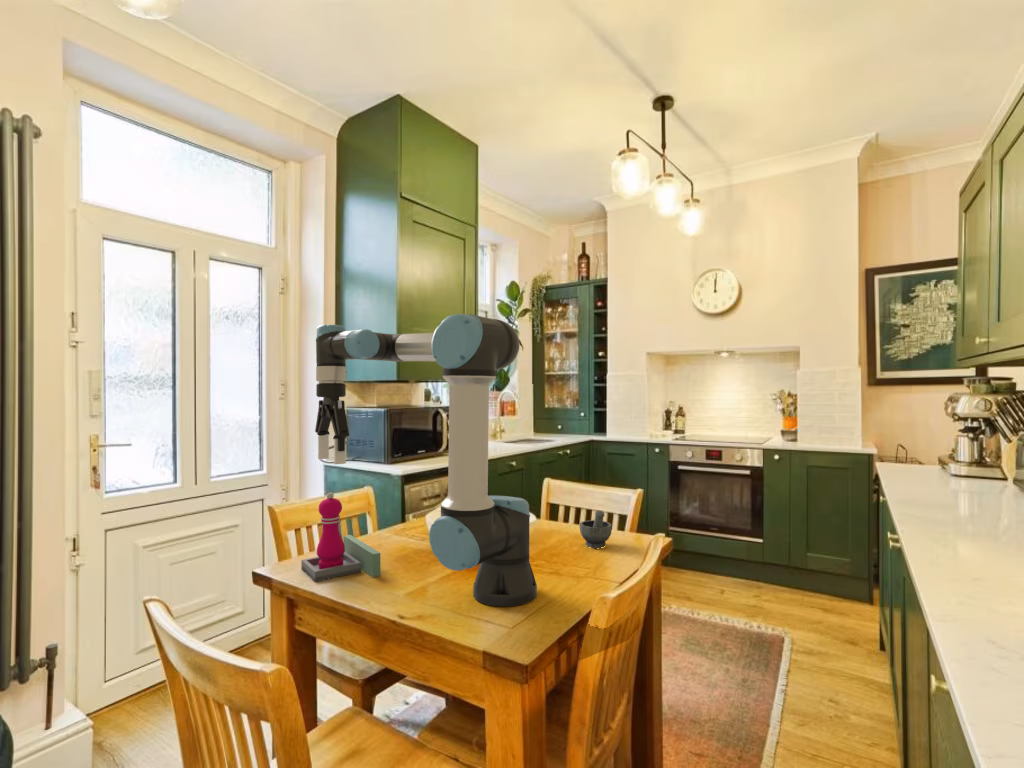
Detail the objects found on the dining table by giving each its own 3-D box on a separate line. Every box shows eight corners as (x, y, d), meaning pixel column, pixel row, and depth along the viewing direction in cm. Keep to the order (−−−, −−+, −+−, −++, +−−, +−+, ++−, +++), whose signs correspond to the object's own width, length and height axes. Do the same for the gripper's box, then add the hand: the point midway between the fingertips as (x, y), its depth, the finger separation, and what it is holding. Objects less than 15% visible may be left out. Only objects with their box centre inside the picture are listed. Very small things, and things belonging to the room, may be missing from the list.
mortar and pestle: (577, 542, 170) (577, 504, 170) (606, 541, 171) (605, 503, 171) (585, 553, 159) (585, 512, 159) (616, 551, 160) (616, 511, 160)
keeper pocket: (360, 572, 143) (360, 562, 143) (314, 581, 136) (314, 571, 136) (345, 560, 152) (345, 551, 152) (301, 569, 145) (301, 559, 145)
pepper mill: (349, 562, 147) (348, 489, 147) (338, 571, 140) (337, 495, 140) (324, 561, 148) (323, 489, 148) (312, 571, 141) (310, 495, 141)
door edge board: (380, 575, 140) (380, 552, 140) (373, 577, 139) (373, 554, 139) (350, 555, 157) (350, 534, 157) (343, 556, 156) (343, 535, 156)
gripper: (361, 381, 137) (362, 464, 136) (330, 383, 157) (330, 455, 156) (332, 381, 132) (332, 467, 132) (303, 383, 152) (303, 457, 152)
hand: (331, 461), depth 144 cm, fingers open, 13 cm apart
